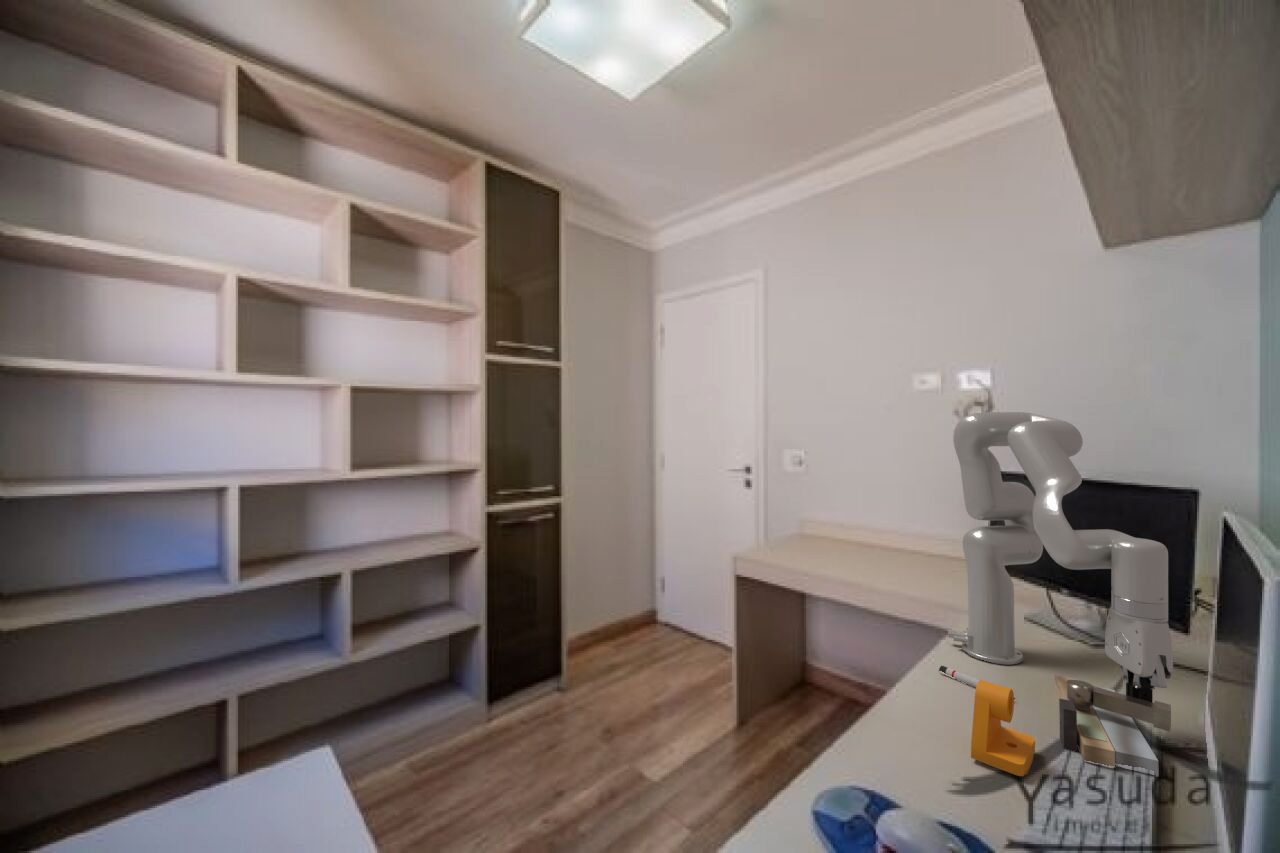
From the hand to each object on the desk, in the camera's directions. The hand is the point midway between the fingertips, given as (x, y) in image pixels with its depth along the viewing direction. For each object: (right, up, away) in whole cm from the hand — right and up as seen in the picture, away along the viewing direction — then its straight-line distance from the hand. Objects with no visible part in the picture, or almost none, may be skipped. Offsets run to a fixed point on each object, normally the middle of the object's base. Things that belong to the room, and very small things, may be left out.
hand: (1139, 706), depth 96 cm
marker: (-18, -6, +18) cm, 26 cm away
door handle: (-4, -1, 0) cm, 4 cm away
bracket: (-29, -6, -6) cm, 30 cm away
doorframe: (-6, -5, +3) cm, 9 cm away
